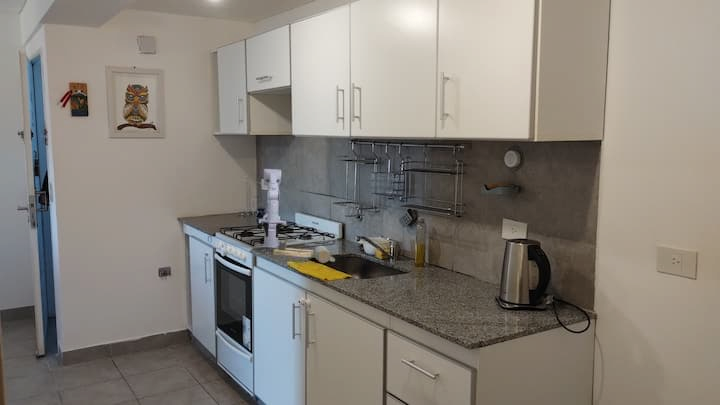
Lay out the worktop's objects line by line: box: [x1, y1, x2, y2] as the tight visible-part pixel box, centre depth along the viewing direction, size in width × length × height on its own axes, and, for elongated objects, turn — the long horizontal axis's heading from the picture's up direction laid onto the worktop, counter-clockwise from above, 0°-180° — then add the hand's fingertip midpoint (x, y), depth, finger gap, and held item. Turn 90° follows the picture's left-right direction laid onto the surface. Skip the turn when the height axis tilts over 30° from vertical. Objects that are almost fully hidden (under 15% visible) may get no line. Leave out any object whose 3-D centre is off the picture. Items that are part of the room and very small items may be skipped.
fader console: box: [272, 246, 314, 258], centre depth 311 cm, size 9×20×2 cm, turn 85°
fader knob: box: [278, 240, 287, 250], centre depth 311 cm, size 4×3×4 cm
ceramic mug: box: [313, 245, 336, 264], centre depth 299 cm, size 11×8×8 cm
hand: (271, 237), depth 311 cm, fingers open, 5 cm apart
